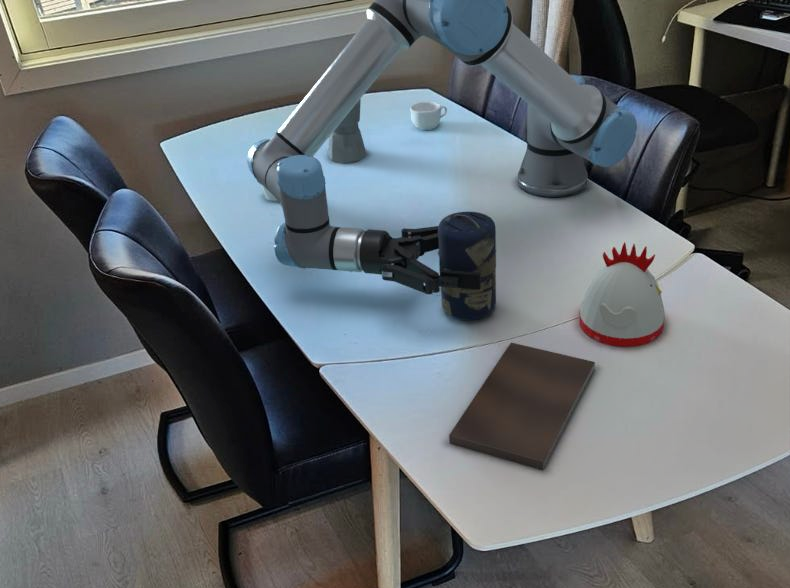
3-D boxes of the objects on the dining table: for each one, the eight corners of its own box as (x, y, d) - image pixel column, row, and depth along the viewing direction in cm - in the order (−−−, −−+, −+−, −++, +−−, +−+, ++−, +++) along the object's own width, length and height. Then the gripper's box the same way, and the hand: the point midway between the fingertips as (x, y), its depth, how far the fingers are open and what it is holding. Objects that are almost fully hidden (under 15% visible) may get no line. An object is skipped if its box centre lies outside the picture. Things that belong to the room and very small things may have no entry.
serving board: (510, 349, 136) (510, 342, 135) (594, 369, 131) (595, 361, 130) (449, 443, 118) (448, 435, 117) (543, 469, 113) (543, 461, 112)
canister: (457, 330, 140) (453, 235, 130) (432, 303, 147) (426, 211, 137) (506, 314, 144) (506, 220, 133) (479, 288, 151) (477, 198, 140)
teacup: (420, 135, 210) (418, 114, 207) (406, 125, 216) (404, 105, 212) (454, 126, 214) (453, 106, 211) (440, 117, 219) (439, 97, 216)
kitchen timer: (655, 353, 133) (667, 272, 124) (571, 338, 137) (576, 259, 129) (668, 307, 144) (679, 229, 135) (589, 294, 148) (595, 218, 139)
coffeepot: (380, 156, 200) (373, 82, 189) (349, 169, 195) (340, 93, 184) (340, 140, 209) (331, 68, 199) (309, 152, 204) (299, 78, 193)
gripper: (386, 236, 155) (500, 245, 151) (344, 308, 136) (473, 320, 132) (382, 199, 151) (500, 207, 146) (339, 268, 132) (472, 279, 127)
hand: (487, 261), depth 139 cm, fingers open, 12 cm apart
